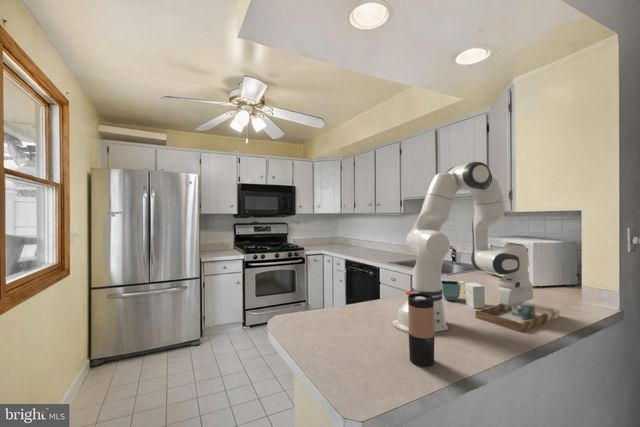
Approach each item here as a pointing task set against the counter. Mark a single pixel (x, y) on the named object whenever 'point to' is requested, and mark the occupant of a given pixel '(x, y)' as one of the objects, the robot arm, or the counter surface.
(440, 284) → the robot arm
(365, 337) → the counter surface
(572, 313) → the counter surface
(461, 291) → the watch
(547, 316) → the striped wooden tray
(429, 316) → the travel mug
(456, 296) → the flower pot
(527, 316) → the teal block
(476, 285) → the small box
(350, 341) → the counter surface
